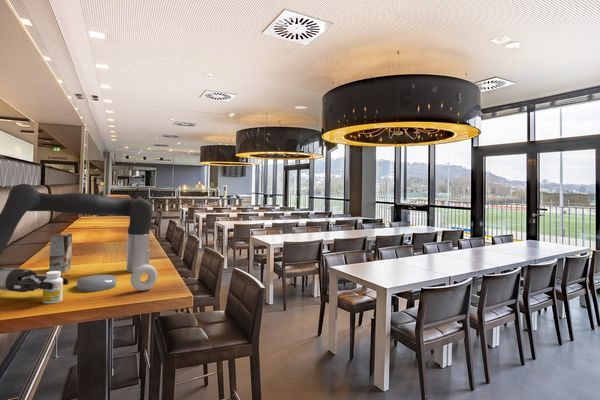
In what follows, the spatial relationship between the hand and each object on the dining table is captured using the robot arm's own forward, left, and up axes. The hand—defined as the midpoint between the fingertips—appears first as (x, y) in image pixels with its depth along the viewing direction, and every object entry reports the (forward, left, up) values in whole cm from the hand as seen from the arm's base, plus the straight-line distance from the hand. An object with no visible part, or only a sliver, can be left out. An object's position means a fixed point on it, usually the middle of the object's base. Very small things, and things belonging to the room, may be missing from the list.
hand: (60, 283), depth 114 cm
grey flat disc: (-11, -15, -6) cm, 19 cm away
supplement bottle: (+2, -2, -6) cm, 7 cm away
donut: (-26, -3, -6) cm, 27 cm away
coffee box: (+2, -49, -6) cm, 49 cm away
